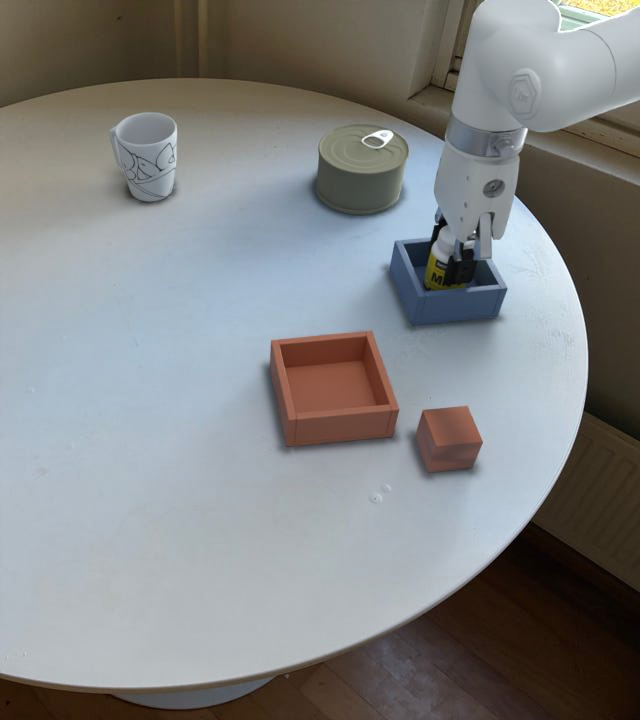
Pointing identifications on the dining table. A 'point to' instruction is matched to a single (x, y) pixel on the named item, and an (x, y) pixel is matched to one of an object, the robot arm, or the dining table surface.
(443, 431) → the block
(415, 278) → the blue bin
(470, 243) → the supplement bottle
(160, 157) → the mug
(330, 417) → the terracotta bin
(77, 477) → the dining table surface
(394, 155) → the can
